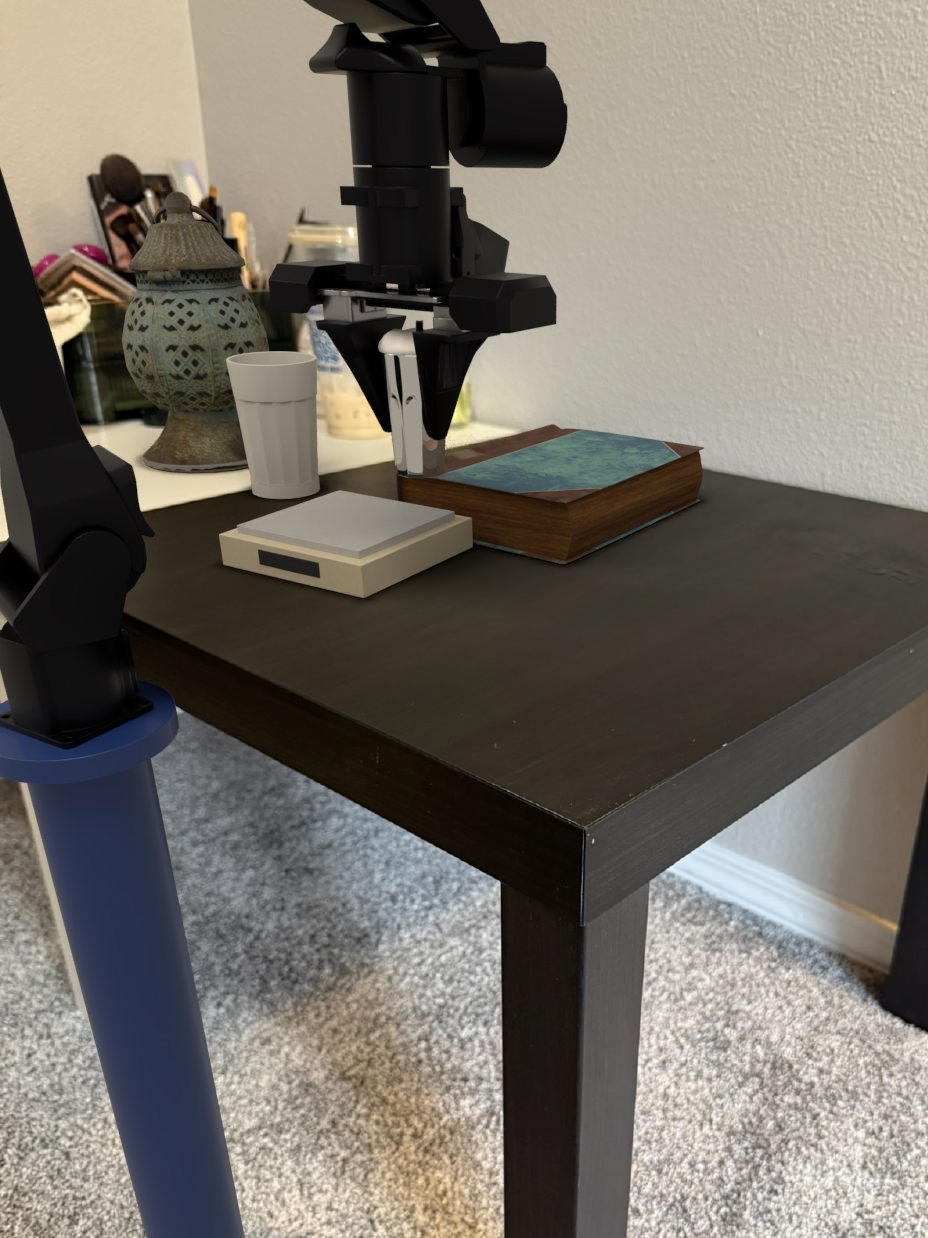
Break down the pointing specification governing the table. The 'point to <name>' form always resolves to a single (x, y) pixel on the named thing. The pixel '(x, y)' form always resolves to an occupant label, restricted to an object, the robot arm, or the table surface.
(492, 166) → the robot arm
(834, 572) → the table surface
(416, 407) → the milkshake
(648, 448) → the book
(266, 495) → the cup
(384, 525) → the scale
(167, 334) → the lantern
